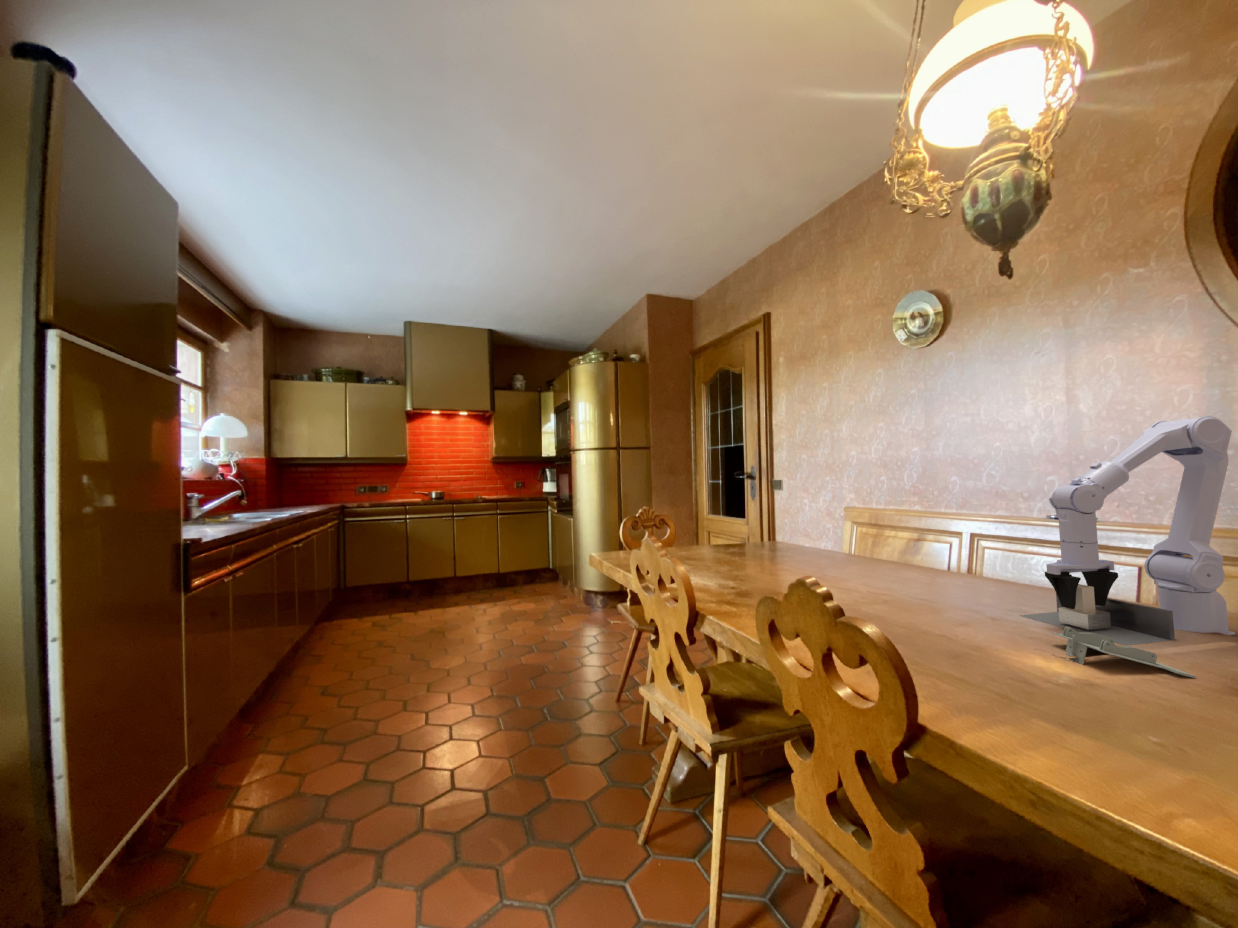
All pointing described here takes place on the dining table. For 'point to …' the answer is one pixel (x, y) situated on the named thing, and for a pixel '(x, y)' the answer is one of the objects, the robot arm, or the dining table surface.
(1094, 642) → the metal bracket
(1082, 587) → the beige rectangular block
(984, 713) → the dining table surface
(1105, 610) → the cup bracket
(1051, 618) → the mounting board
